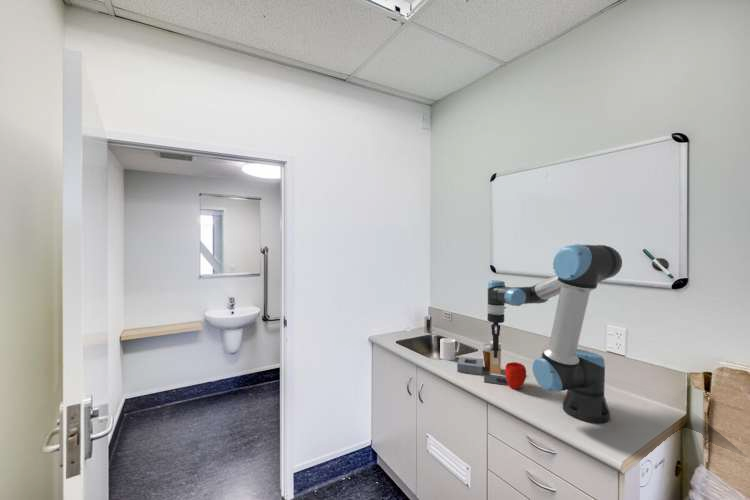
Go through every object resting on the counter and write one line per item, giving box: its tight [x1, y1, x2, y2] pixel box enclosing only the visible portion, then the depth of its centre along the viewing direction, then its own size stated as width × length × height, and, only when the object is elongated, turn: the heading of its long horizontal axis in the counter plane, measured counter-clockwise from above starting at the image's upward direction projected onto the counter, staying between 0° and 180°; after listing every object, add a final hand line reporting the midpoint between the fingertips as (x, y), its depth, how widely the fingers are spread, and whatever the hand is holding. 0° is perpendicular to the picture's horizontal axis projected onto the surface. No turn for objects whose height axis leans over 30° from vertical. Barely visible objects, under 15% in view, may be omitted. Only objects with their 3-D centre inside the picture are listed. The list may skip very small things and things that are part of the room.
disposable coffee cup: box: [481, 343, 490, 372], centre depth 167 cm, size 10×10×12 cm
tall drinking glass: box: [489, 340, 502, 375], centre depth 154 cm, size 5×5×14 cm
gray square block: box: [456, 356, 484, 376], centre depth 168 cm, size 12×12×4 cm
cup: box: [439, 337, 461, 361], centre depth 186 cm, size 8×12×10 cm
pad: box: [483, 373, 508, 387], centre depth 154 cm, size 10×10×1 cm
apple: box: [504, 361, 527, 390], centre depth 146 cm, size 9×9×11 cm
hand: (495, 362), depth 154 cm, fingers closed on tall drinking glass, 5 cm apart
